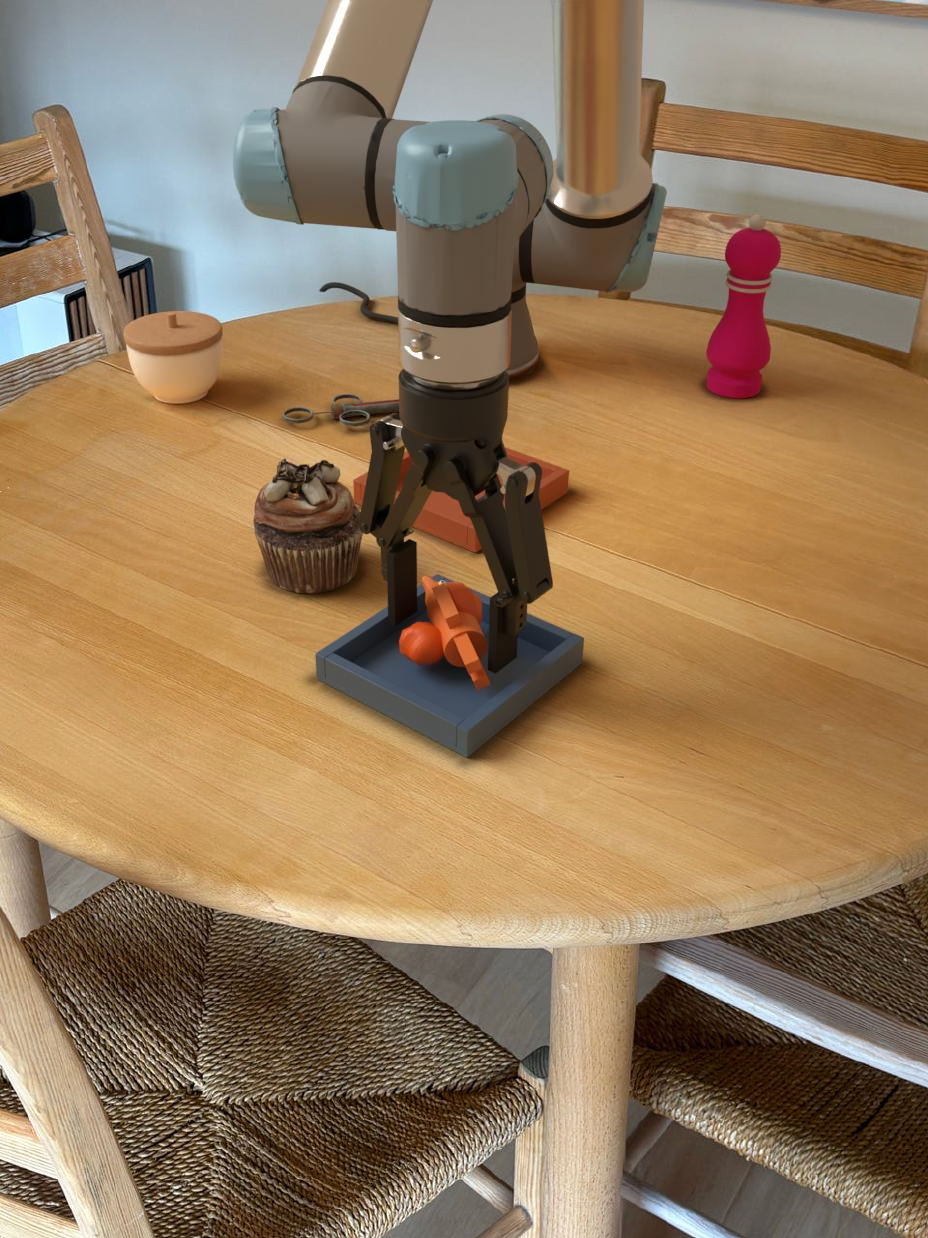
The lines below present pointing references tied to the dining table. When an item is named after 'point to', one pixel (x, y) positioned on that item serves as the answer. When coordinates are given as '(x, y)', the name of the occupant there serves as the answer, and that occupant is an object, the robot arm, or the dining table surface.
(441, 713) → the blue tray
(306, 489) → the cupcake
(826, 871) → the dining table surface
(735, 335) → the pepper mill
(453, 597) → the orange toy bird
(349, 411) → the syringe
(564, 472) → the terracotta tray
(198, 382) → the trinket box
